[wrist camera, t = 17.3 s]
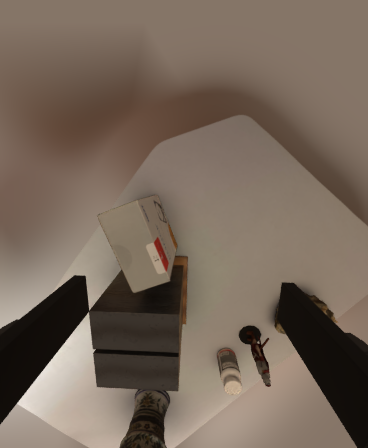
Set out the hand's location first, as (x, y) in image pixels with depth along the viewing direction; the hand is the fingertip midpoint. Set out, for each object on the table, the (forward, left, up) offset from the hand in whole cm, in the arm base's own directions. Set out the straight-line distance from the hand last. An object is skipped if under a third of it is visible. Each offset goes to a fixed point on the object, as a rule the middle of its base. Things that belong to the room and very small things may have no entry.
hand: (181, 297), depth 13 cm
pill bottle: (+46, +13, -39) cm, 62 cm away
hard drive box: (+4, -9, -39) cm, 40 cm away
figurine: (+38, +20, -39) cm, 58 cm away
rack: (+24, -9, -39) cm, 46 cm away
